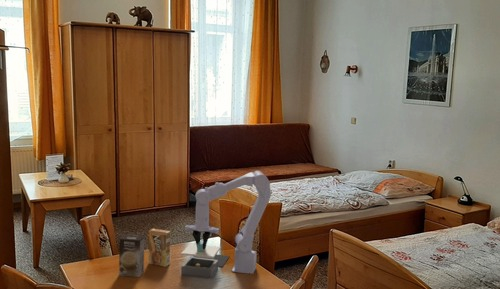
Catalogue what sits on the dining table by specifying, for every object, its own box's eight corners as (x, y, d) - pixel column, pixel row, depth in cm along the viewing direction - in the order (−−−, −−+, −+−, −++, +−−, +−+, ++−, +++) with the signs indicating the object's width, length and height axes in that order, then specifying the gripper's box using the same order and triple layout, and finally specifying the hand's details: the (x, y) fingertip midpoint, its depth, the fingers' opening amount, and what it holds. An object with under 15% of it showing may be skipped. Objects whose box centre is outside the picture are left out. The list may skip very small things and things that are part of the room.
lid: (220, 249, 207) (220, 239, 206) (213, 259, 195) (213, 248, 195) (190, 246, 210) (190, 235, 209) (181, 256, 198) (181, 245, 197)
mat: (229, 256, 221) (229, 256, 221) (222, 267, 208) (222, 266, 208) (197, 253, 224) (197, 252, 224) (188, 263, 212) (188, 262, 211)
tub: (217, 268, 207) (218, 260, 206) (210, 278, 196) (211, 269, 196) (189, 265, 209) (190, 256, 209) (181, 275, 199) (181, 266, 198)
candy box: (170, 263, 210) (170, 230, 208) (165, 267, 206) (166, 233, 204) (153, 260, 213) (153, 228, 211) (148, 263, 209) (148, 230, 207)
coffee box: (118, 275, 196) (118, 238, 193) (123, 269, 202) (123, 233, 200) (139, 277, 195) (139, 240, 192) (144, 271, 201) (144, 235, 199)
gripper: (221, 216, 203) (220, 246, 205) (189, 213, 206) (188, 243, 208) (216, 221, 196) (215, 252, 198) (183, 217, 199) (183, 248, 201)
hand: (201, 247), depth 202 cm, fingers closed on lid
